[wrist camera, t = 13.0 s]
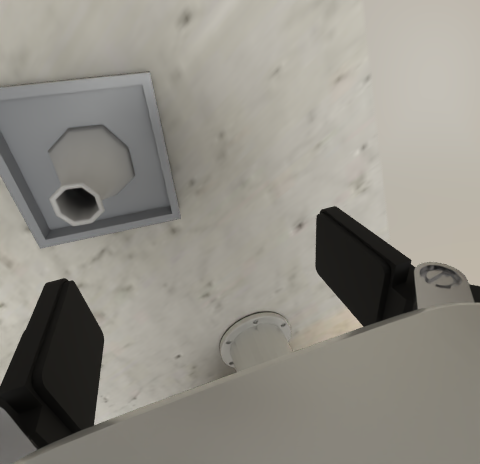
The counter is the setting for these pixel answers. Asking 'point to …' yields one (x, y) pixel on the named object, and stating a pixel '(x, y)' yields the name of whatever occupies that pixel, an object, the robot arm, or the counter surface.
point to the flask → (88, 172)
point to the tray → (81, 115)
